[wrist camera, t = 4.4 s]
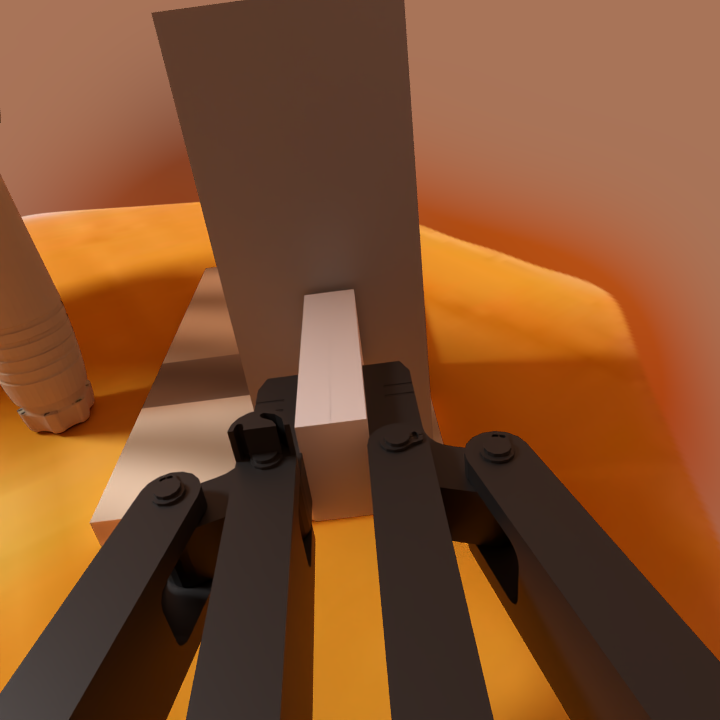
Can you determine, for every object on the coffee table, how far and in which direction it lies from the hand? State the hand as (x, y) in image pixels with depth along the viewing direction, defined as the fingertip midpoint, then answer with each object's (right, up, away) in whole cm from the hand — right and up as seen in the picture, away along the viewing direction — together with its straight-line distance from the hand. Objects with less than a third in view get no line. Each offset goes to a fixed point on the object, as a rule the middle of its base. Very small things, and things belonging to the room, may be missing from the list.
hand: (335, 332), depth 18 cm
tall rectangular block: (0, -3, +7) cm, 8 cm away
